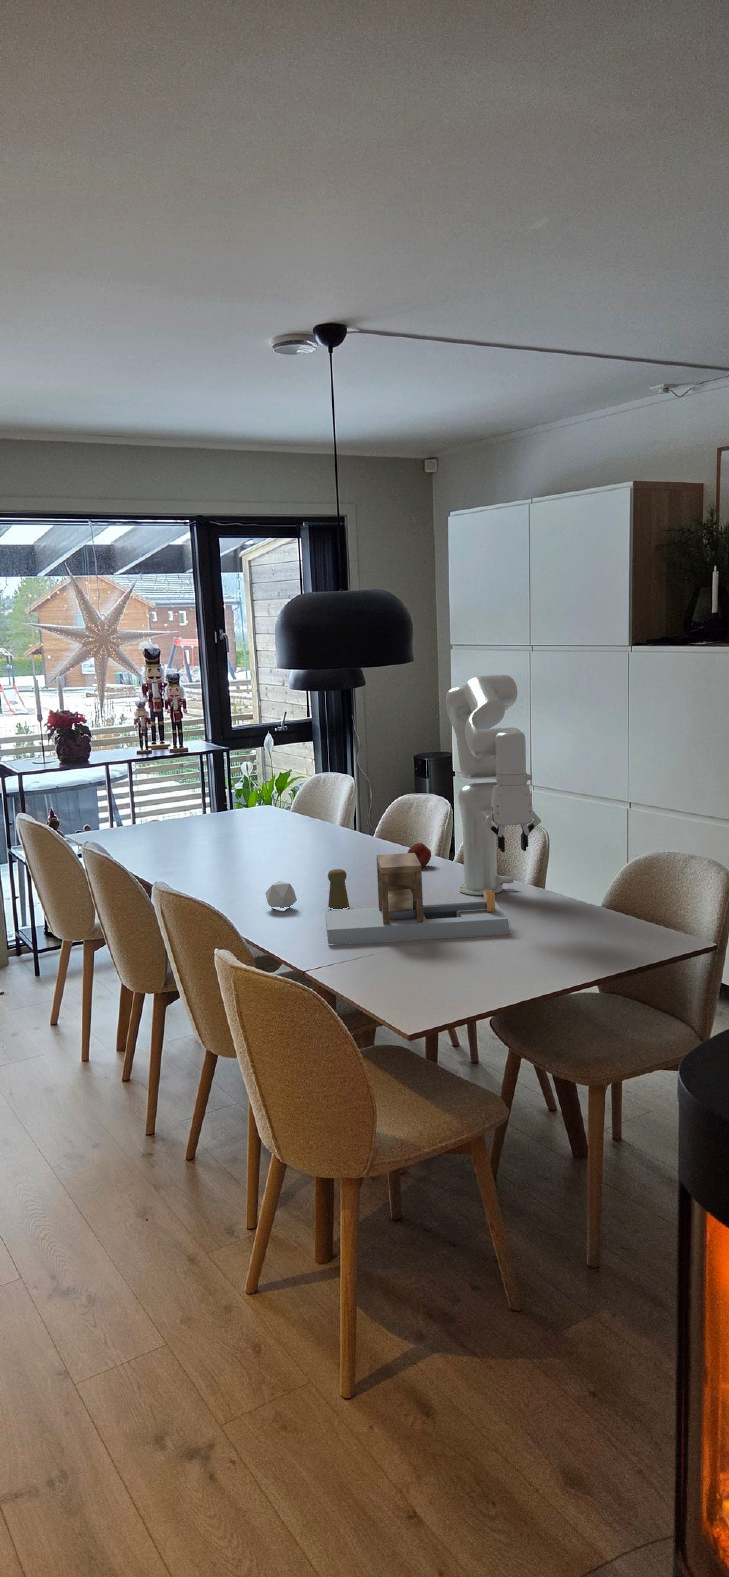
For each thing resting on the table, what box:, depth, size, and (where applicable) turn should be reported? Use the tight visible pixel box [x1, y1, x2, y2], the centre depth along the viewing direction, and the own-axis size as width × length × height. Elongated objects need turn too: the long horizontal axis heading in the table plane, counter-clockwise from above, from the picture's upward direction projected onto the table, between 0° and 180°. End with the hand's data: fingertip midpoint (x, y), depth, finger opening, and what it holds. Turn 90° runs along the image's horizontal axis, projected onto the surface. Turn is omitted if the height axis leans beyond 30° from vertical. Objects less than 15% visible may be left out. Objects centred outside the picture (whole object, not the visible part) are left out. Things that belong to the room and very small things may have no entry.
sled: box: [381, 889, 496, 920], centre depth 266 cm, size 28×9×4 cm, turn 94°
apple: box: [407, 842, 432, 868], centre depth 337 cm, size 7×8×8 cm
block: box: [388, 889, 413, 911], centre depth 265 cm, size 6×6×6 cm
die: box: [265, 880, 298, 908], centre depth 292 cm, size 8×9×10 cm
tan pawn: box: [327, 868, 350, 909], centre depth 291 cm, size 6×6×11 cm
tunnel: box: [376, 852, 424, 925], centre depth 265 cm, size 10×15×14 cm, turn 4°
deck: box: [325, 900, 509, 945], centre depth 266 cm, size 45×18×4 cm, turn 94°
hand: (513, 849), depth 265 cm, fingers open, 4 cm apart
